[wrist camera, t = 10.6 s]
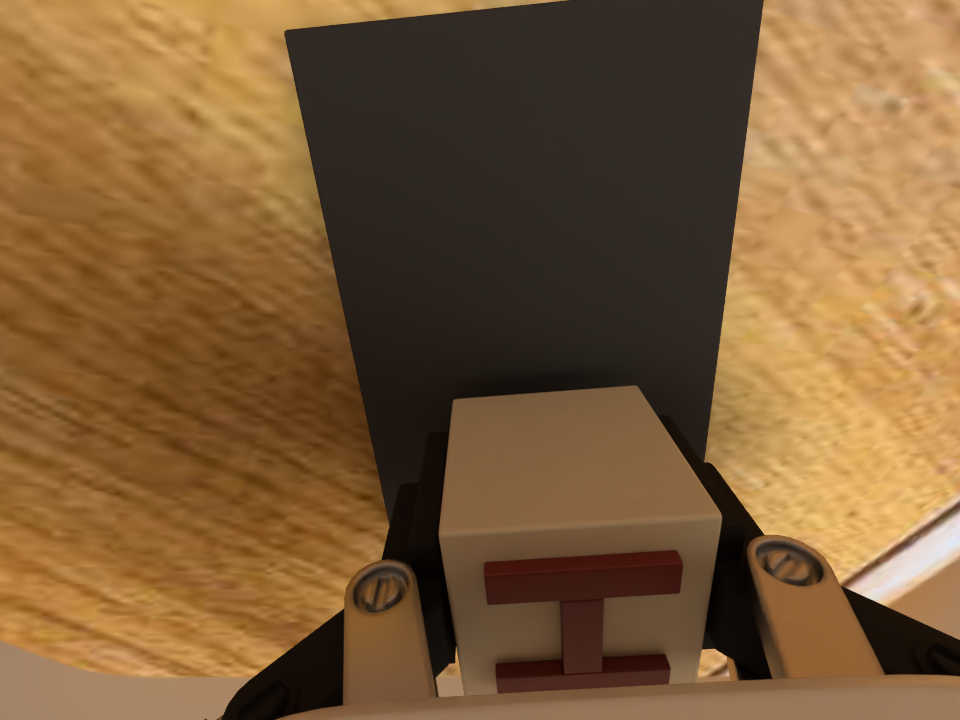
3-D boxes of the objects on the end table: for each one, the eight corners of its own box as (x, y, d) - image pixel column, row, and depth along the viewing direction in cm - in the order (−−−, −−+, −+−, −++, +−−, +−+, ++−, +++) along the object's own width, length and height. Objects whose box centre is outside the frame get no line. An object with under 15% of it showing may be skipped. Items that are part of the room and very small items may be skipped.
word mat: (394, 522, 16) (391, 536, 16) (293, 35, 10) (282, 29, 10) (690, 502, 16) (697, 515, 15) (752, -13, 10) (767, -22, 10)
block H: (469, 537, 14) (465, 724, 9) (452, 397, 12) (435, 548, 7) (629, 526, 14) (703, 712, 9) (637, 383, 12) (734, 529, 7)
